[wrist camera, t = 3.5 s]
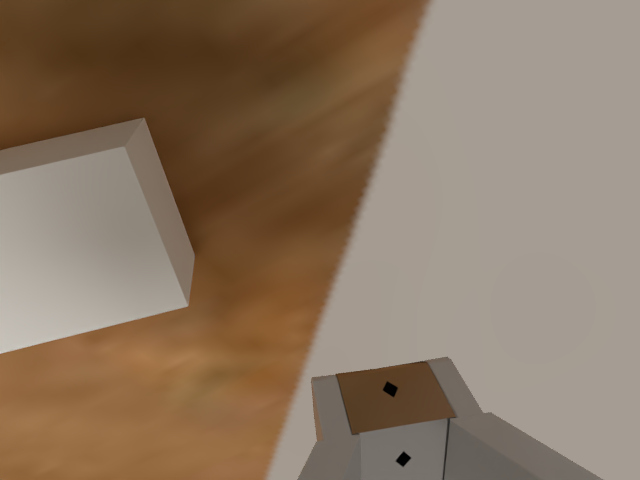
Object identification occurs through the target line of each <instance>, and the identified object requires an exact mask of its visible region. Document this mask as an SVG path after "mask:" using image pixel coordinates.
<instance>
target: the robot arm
mask: <svg viewBox="0 0 640 480" xmlns="http://www.w3.org/2000/svg"><path fill="white" fill-rule="evenodd" d="M311 383H312V396H313V408H314V419H315V427H316V436H317V442H316V444H315V446H314V447H313V450H312V452H311V454H310V456H309V458H308V460H307V462H306V464H305V466H304V468H303V470H302V472H301V474H300V476H299V478H298V480H603V479H601V478H600V477H598V476H596V475H595V474H593V473H591V472H590V471H588V470H586V469H584V468H583V467H581V466H579V465H577V464H576V463H574V462H573V461H571V460H569V459H568V458H566V457H564V456H563V455H561V454H559V453H558V452H556V451H554V450H553V449H551V448H549V447H548V446H546V445H544V444H543V443H541V442H539V441H538V440H536V439H534V438H532V437H531V436H529V435H527V434H526V433H524V432H522V431H521V430H519V429H517V428H516V427H514V426H512V425H511V424H509V423H507V422H506V421H504V420H502V419H501V418H499V417H497V416H496V415H494V414H492V413H483V412H482V410H481V408H480V407H479V405H478V403H477V402H476V400H475V398H474V397H473V395H472V393H471V392H470V390H469V389H468V387H467V385H466V384H465V382H464V380H463V379H462V377H461V375H460V374H459V372H458V370H457V369H456V367H455V365H454V364H453V362H452V360H451V359H449V358H448V357H443V358H438V359H431V360H426V361H420V362H414V363H408V364H402V365H396V366H389V367H383V368H378V369H370V370H363V371H355V372H347V373H339V374H336V375H328V376H321V377H312V380H311Z"/></svg>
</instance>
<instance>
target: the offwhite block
mask: <svg viewBox="0 0 640 480" xmlns="http://www.w3.org/2000/svg"><path fill="white" fill-rule="evenodd" d="M194 260H195V254H194V252H193V249H192V246H191V243H190V241H189V238H188V235H187V232H186V230H185V227H184V224H183V222H182V219H181V216H180V213H179V211H178V208H177V205H176V203H175V200H174V197H173V194H172V192H171V189H170V186H169V183H168V181H167V178H166V175H165V173H164V170H163V167H162V164H161V162H160V159H159V156H158V153H157V151H156V148H155V145H154V143H153V140H152V137H151V134H150V132H149V129H148V126H147V123H146V121H145V118H140V119H135V120H131V121H127V122H122V123H118V124H113V125H109V126H105V127H100V128H96V129H91V130H87V131H83V132H78V133H74V134H69V135H65V136H60V137H56V138H52V139H47V140H43V141H38V142H34V143H30V144H25V145H21V146H16V147H12V148H7V149H3V150H0V354H1V353H5V352H9V351H13V350H17V349H21V348H25V347H29V346H33V345H37V344H41V343H45V342H48V341H52V340H56V339H60V338H64V337H68V336H72V335H76V334H80V333H84V332H88V331H92V330H96V329H100V328H104V327H108V326H112V325H116V324H120V323H124V322H128V321H132V320H136V319H140V318H144V317H148V316H152V315H156V314H160V313H164V312H168V311H172V310H176V309H180V308H184V307H188V305H189V298H190V290H191V283H192V275H193V268H194Z"/></svg>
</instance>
